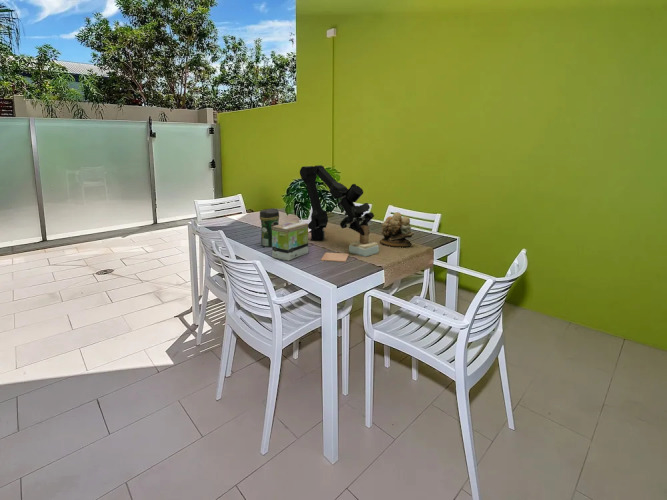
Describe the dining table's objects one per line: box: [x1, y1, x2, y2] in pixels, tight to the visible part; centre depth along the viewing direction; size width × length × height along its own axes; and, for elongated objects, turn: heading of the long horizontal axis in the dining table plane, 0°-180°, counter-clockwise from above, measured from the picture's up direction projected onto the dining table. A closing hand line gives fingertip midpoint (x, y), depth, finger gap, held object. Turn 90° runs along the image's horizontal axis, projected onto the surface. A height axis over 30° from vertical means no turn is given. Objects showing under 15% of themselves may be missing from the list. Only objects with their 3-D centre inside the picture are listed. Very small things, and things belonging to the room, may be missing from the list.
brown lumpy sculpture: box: [379, 212, 415, 249], centre depth 191 cm, size 18×12×17 cm, turn 60°
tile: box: [320, 252, 350, 263], centre depth 172 cm, size 11×11×1 cm
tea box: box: [271, 220, 309, 262], centre depth 173 cm, size 15×10×15 cm
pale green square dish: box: [348, 244, 380, 258], centre depth 179 cm, size 10×10×4 cm
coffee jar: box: [259, 207, 280, 248], centre depth 189 cm, size 10×8×19 cm
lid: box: [350, 225, 378, 249], centre depth 177 cm, size 9×9×10 cm
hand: (366, 234), depth 176 cm, fingers closed on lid, 3 cm apart
